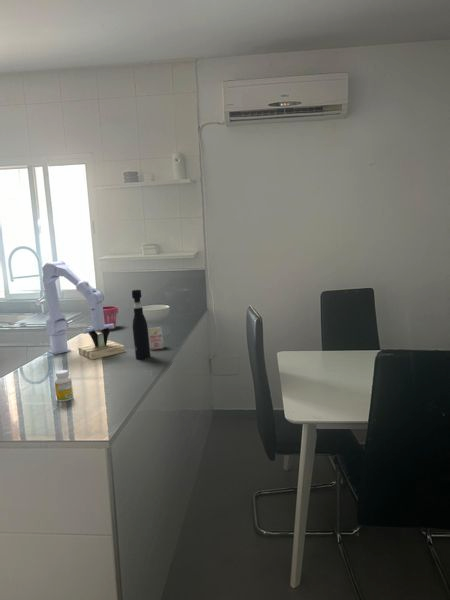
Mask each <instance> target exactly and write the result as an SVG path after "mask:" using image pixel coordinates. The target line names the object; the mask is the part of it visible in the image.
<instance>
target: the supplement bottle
mask: <svg viewBox="0 0 450 600" xmlns="http://www.w3.org/2000/svg"><path fill="white" fill-rule="evenodd" d="M55 377H56V378H55V379H54V387H55V395H56V401H58V402H61V403H62V402H68V401H70V400H73V398H74V391H73V383H72V377H71V376H69V370H67V369H63V370H58V371H55Z"/></svg>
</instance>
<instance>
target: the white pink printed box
mask: <svg viewBox="0 0 450 600" xmlns="http://www.w3.org/2000/svg"><path fill="white" fill-rule="evenodd" d="M148 337H149V346H150V351H152V350H153V351H155V350H161V349H164V348H165V347H164V339H163V337H164V336H163V329H162V326H159V327H150V328H149V327H148Z"/></svg>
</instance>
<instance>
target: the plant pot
mask: <svg viewBox="0 0 450 600" xmlns="http://www.w3.org/2000/svg"><path fill="white" fill-rule="evenodd" d="M103 314H104V323H105V325H106V324H114V328H110V329H109V330H110V331H112V330H114V329H116V324H117V316H118V315H117V314H119V307H118V306H117V305H107V306H103Z"/></svg>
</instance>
